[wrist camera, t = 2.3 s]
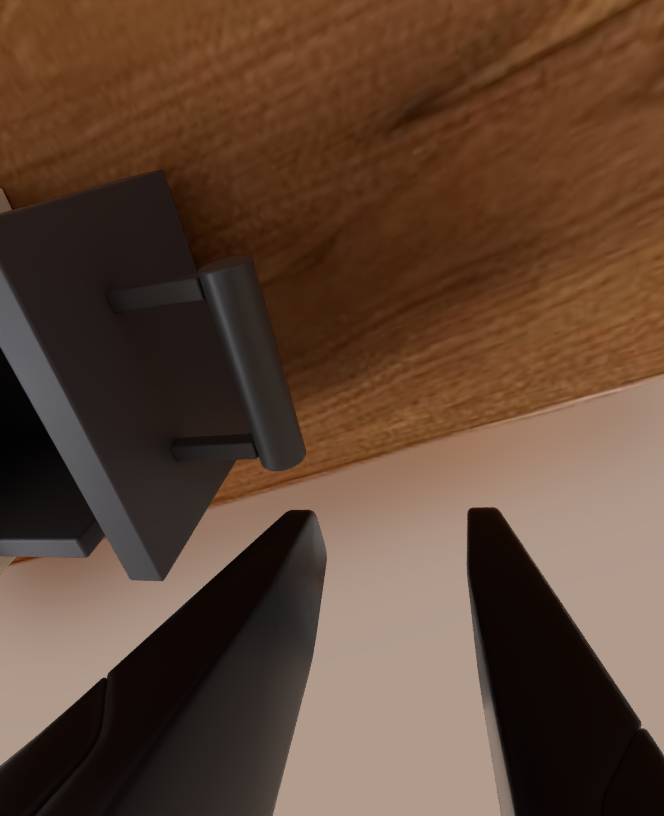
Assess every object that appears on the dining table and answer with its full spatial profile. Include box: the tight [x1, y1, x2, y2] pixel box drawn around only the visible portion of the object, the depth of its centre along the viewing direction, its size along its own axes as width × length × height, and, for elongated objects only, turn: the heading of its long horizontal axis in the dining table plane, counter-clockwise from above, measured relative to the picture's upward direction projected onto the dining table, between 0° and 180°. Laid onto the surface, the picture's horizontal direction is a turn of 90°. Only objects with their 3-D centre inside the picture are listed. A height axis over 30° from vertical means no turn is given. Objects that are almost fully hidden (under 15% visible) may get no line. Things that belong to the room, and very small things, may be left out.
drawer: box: [0, 170, 306, 581], centre depth 17 cm, size 17×10×8 cm, turn 102°
